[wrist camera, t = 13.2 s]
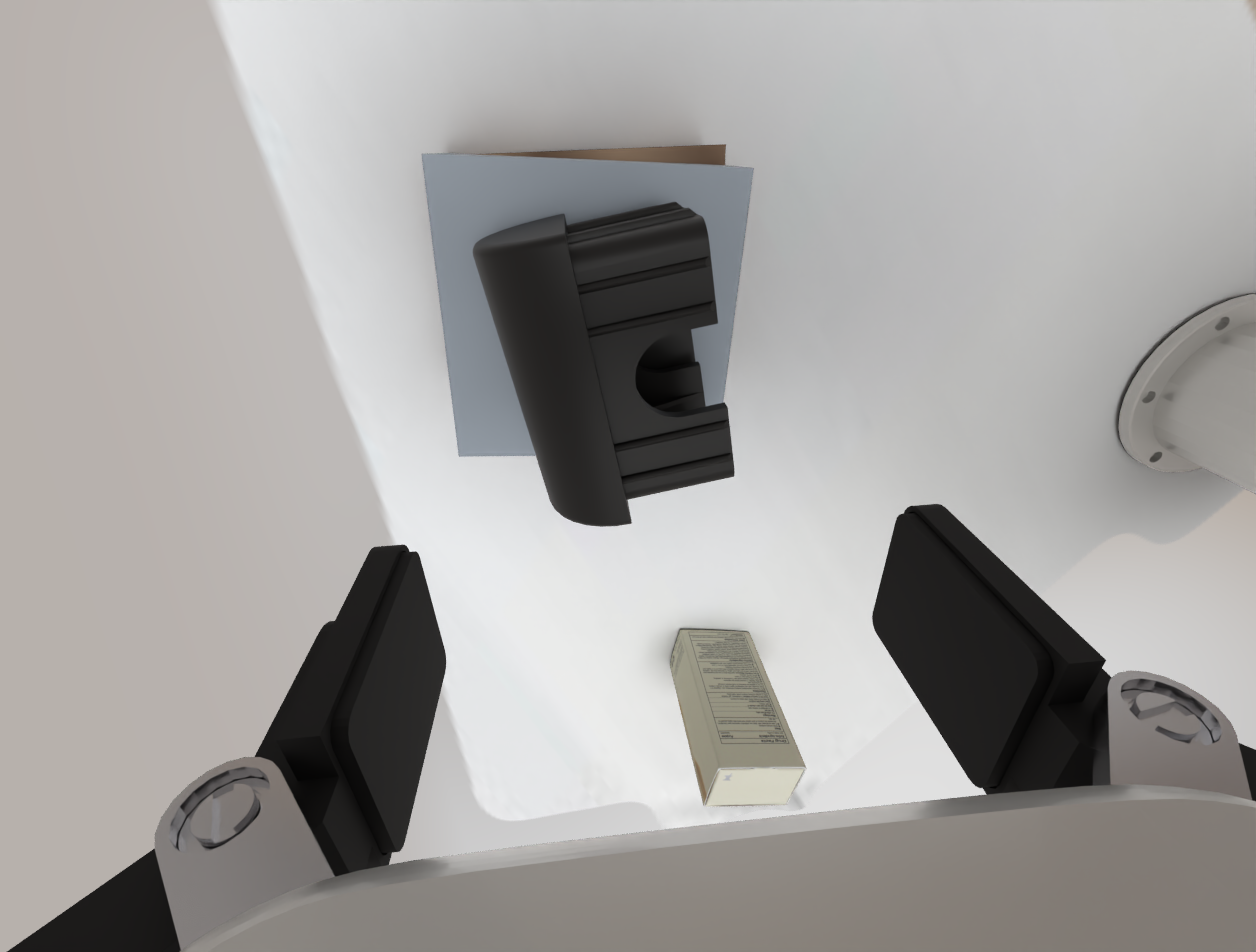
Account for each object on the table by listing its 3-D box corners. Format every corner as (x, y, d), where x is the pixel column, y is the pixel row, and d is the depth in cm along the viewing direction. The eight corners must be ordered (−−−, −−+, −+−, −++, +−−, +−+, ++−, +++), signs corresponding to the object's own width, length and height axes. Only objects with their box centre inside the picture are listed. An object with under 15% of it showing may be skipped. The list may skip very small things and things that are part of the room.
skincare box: (668, 664, 48) (697, 809, 37) (679, 626, 46) (713, 768, 35) (740, 667, 49) (788, 809, 38) (754, 631, 47) (809, 770, 36)
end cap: (484, 228, 21) (454, 258, 15) (669, 187, 21) (709, 201, 15) (552, 457, 26) (549, 544, 20) (701, 424, 26) (741, 503, 20)
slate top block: (721, 165, 25) (753, 167, 21) (695, 411, 31) (716, 453, 27) (447, 153, 24) (421, 153, 20) (473, 412, 30) (459, 456, 26)
